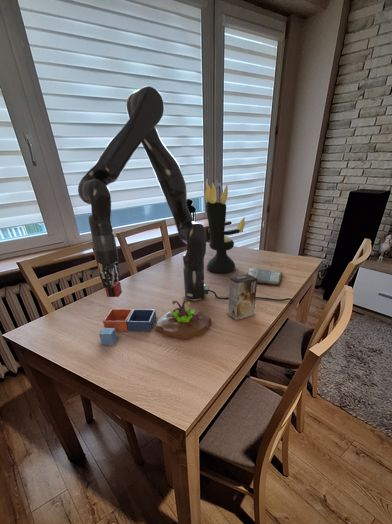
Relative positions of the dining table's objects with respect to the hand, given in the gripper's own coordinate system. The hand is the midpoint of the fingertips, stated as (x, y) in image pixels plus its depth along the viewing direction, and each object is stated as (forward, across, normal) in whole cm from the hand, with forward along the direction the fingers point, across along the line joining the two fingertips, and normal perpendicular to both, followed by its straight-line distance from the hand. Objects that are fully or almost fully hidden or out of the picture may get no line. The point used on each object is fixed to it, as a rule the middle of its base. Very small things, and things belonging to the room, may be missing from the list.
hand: (114, 293), depth 104 cm
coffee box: (+13, +10, -49) cm, 52 cm away
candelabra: (+13, +66, -40) cm, 78 cm away
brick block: (0, 0, 0) cm, 0 cm away
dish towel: (+13, +53, -64) cm, 84 cm away
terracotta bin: (+13, 0, 0) cm, 13 cm away
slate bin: (+13, 0, -9) cm, 16 cm away
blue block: (+13, -13, 0) cm, 18 cm away
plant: (+13, 0, -26) cm, 29 cm away
